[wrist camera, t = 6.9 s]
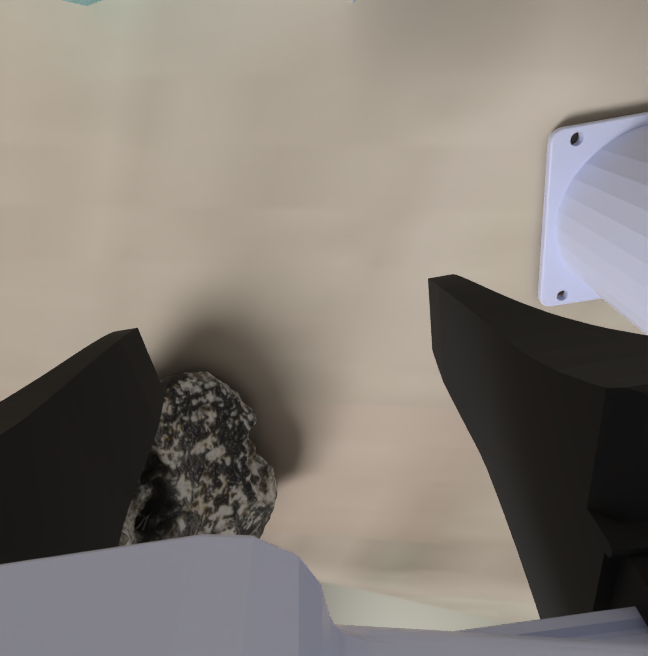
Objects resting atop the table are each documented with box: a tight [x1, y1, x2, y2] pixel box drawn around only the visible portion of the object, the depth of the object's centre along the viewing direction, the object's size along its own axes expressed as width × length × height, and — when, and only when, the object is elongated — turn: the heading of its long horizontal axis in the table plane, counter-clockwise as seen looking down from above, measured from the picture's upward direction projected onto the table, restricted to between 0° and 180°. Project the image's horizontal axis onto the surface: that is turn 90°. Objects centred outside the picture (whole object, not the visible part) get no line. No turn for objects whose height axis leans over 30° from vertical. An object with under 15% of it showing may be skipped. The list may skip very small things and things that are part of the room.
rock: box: [118, 372, 277, 547], centre depth 25 cm, size 13×10×10 cm
